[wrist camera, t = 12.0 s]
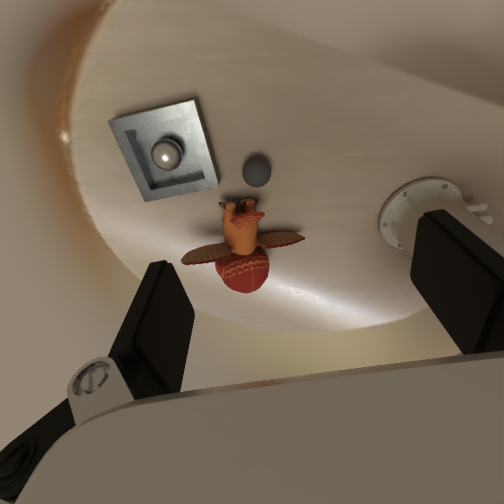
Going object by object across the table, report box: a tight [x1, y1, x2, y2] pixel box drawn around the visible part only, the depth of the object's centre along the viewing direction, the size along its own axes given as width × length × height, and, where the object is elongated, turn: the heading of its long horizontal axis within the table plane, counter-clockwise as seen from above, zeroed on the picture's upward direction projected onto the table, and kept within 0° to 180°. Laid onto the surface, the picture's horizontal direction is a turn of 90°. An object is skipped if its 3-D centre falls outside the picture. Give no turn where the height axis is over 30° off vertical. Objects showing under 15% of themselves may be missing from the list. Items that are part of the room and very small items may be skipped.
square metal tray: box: [107, 97, 221, 202], centre depth 39 cm, size 11×11×3 cm
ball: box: [242, 158, 271, 187], centre depth 40 cm, size 4×4×4 cm
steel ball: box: [151, 139, 183, 171], centre depth 38 cm, size 4×4×4 cm
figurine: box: [181, 197, 305, 293], centre depth 45 cm, size 20×9×15 cm
